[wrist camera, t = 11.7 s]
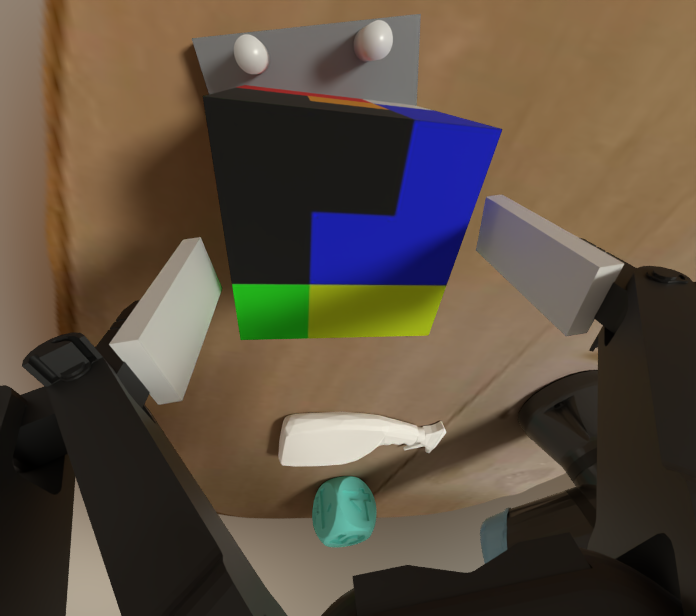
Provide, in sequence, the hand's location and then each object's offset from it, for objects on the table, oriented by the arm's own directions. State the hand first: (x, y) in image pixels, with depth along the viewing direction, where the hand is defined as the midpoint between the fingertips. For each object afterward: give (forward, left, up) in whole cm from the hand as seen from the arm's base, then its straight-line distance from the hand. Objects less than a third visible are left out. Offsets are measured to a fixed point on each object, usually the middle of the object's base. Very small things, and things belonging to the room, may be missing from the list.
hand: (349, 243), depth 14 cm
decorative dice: (-52, +5, -10) cm, 53 cm away
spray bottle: (-35, -1, -10) cm, 37 cm away
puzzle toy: (0, 0, -9) cm, 9 cm away
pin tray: (0, 0, -10) cm, 10 cm away
